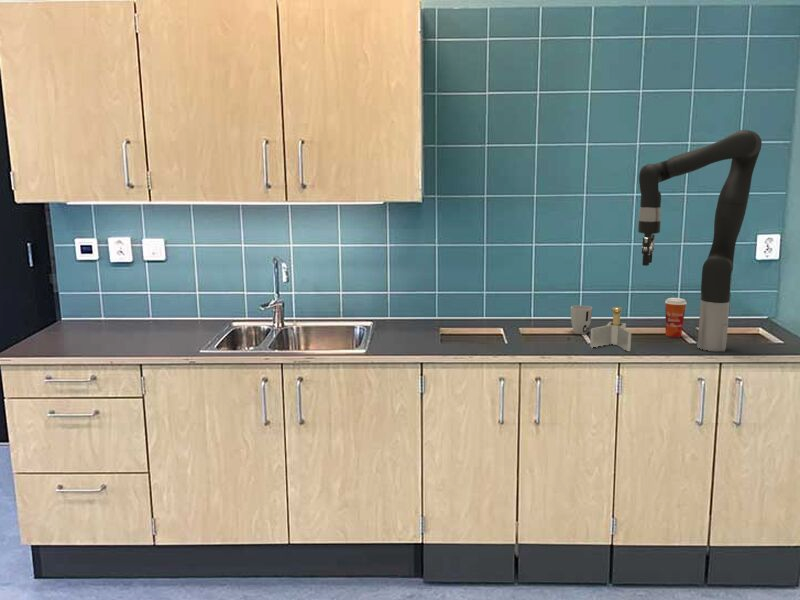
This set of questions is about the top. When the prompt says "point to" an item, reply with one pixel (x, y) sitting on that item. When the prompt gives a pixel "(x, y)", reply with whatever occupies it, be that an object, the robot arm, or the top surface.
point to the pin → (616, 315)
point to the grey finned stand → (611, 336)
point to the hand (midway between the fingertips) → (647, 264)
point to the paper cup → (674, 316)
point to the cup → (581, 318)
